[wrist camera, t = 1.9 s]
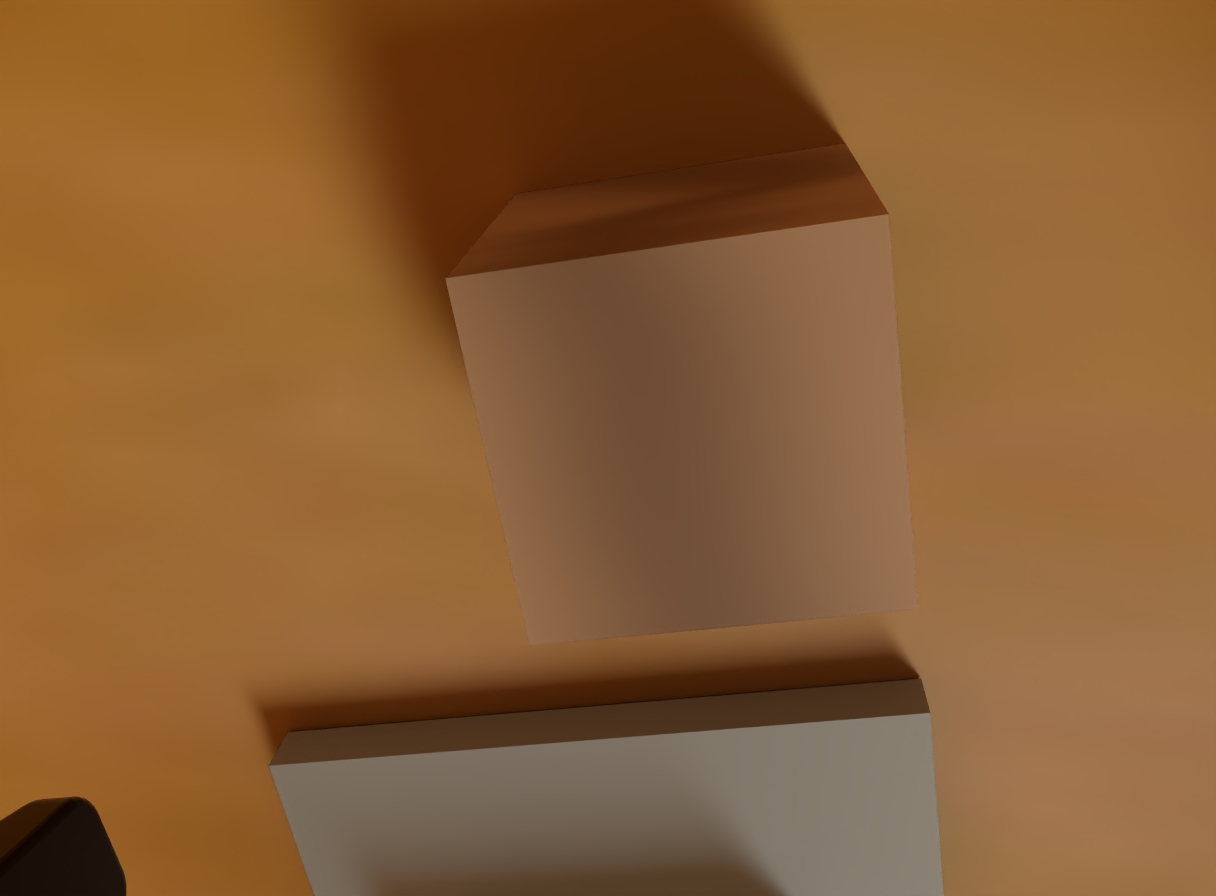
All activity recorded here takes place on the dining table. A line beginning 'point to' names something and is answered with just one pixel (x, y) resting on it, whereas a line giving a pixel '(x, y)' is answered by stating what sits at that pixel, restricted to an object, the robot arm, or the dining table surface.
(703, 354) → the walnut block
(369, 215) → the dining table surface
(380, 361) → the dining table surface
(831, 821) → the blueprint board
